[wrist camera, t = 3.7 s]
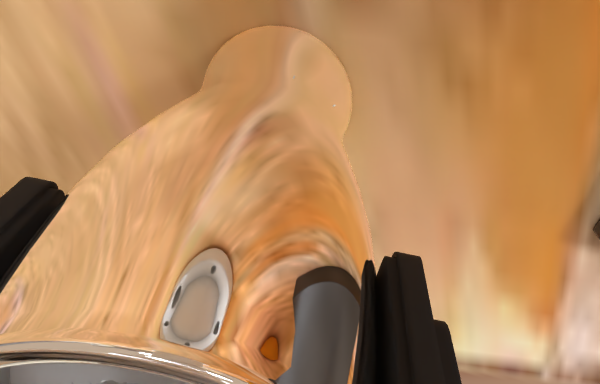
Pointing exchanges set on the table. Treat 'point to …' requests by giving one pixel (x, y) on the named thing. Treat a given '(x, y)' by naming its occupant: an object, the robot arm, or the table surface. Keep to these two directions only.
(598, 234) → the serving board
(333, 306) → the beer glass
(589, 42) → the table surface
